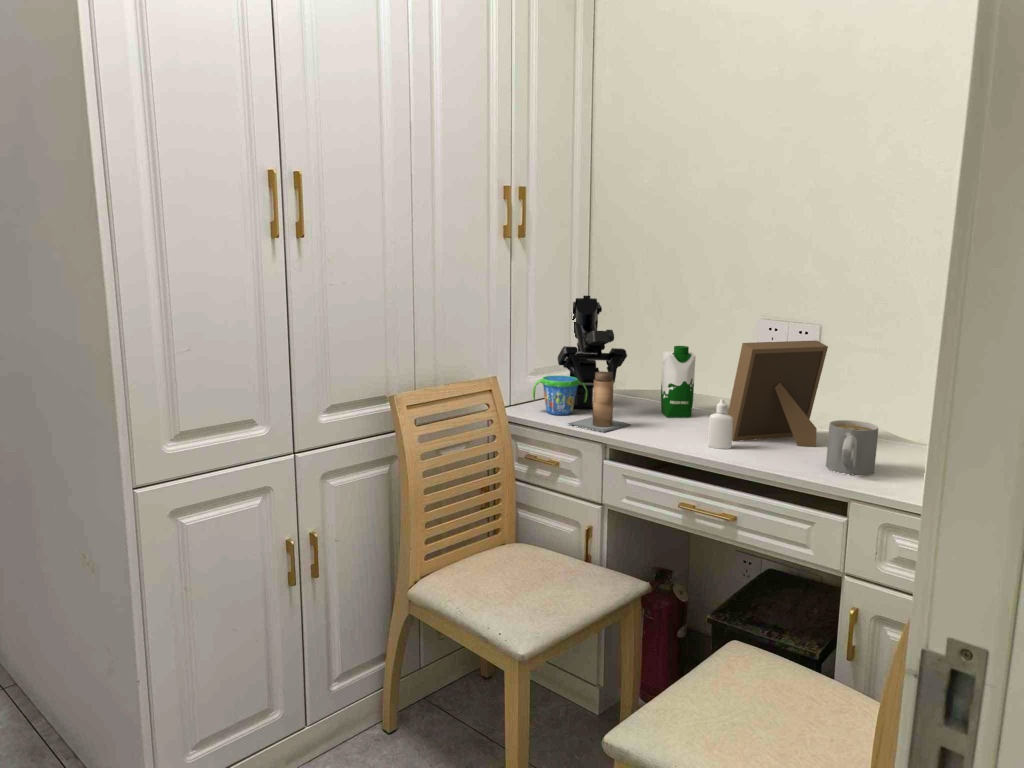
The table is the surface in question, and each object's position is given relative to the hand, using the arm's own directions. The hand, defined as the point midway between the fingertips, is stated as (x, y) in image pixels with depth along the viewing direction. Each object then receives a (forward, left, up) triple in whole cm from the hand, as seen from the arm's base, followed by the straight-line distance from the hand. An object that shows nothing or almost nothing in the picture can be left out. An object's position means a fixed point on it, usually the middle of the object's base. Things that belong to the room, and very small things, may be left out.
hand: (598, 382), depth 220 cm
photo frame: (+12, +46, -11) cm, 49 cm away
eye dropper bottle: (+21, +31, -11) cm, 39 cm away
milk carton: (-14, +22, -11) cm, 28 cm away
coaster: (+4, +1, -11) cm, 12 cm away
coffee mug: (+36, +57, -11) cm, 68 cm away
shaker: (+6, +2, -10) cm, 12 cm away
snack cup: (-9, -11, -11) cm, 18 cm away
